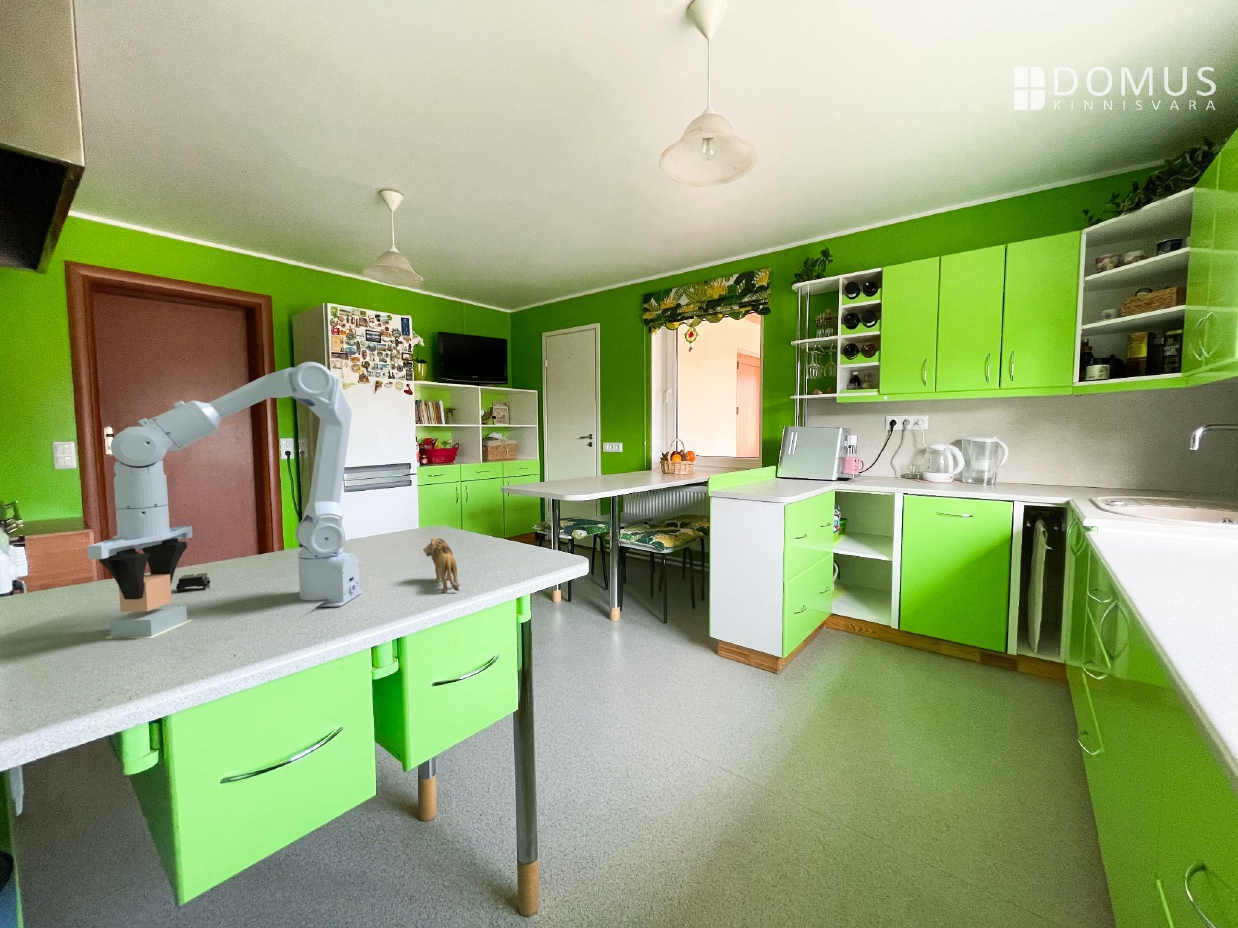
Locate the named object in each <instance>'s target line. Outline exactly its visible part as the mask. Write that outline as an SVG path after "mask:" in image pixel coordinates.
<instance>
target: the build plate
mask: <svg viewBox="0 0 1238 928" xmlns="http://www.w3.org/2000/svg"><path fill="white" fill-rule="evenodd" d="M177 581H178V582H177V583H176V586H175V589H176V594H180V593H181V592H182V591H184V590H185V589H186V588H192V587H193V588H194V587H196V588H200V587H201V588H202V590H203V591H206V590H207V589H211V588H210V587H211V580H210V576H208V572H203V573H197V574H196V575H195V574H193V573H192V574H183V575H182V576H181V577H179V578H178V580H177Z"/></svg>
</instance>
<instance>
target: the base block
mask: <svg viewBox="0 0 1238 928" xmlns="http://www.w3.org/2000/svg"><path fill="white" fill-rule="evenodd" d="M187 620H188V613H187V605H163V606H160V607H158V608H155V609H152V610H150V611H135V612H129V613H126V614H123V615H121V616H118V617H114V618H112V619H110V620H109V626H110V627H109V629H110V630H109V631H110V636H111V637H136V636H154V635H156V634H158V633H160V632H163V631H165V630H167V629H170V628H172V627H174V626H176V625H179V624H181V623H183V622H186V621H187Z"/></svg>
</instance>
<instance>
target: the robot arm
mask: <svg viewBox="0 0 1238 928" xmlns="http://www.w3.org/2000/svg"><path fill="white" fill-rule="evenodd" d="M289 397H292V399H295V400H296V401H298V402H299V403H301V404H303V405H306V406H307V407H308V409H310V410H311V412H313V413H314V414H315V415H316V416H317V417H318V419H319V425H318V433H317V434H318V435H317V441H316V448H315V455H314V463H313V470H312V476H311V485H310V489H309V491H310V492H309V499H308V501H307V505H306V507H305V509H304V513H303V517H302V520H301V521H300V522H299V524H298V525H297V527H296V528H295V539H296V540H297V542H298V543H299V544H300V545H301V546H302V547H301V550H299V552H298V553H297V557H298V559H297V560H298V562H297V563H298V580H299V581H298V584H299V586H298V587H299V598H300V599H301V600H303V601H320V600H321V601H322V600H325V601H324V602H322V603H320V604H318V605H317V606H316V607H322V608H323V607H328V608H329V607H341V606H344V605H345V604H346V603H348V602H349V601H351V600H353V599H354V598H356V597H357V596H359V595H361V594H363V590H362V589H361V582H360V581H361V580H360V579H361V578H360V576H361V575H360V561H359V558H358V557H357V555H355V554H354V553H346V552H344V547H343V546H344V543H345V541H346V531H345V530H344V527H343V522H342V521H343V513H342V509H341V505H340V502H341V497H342V489H343V488H342V487H343V481H344V473H345V467H346V460H347V451H348V445H349V436H350V430H351V422H352V409H351V408H350V407H351V406H350V404H349V403H348V401H347V399H346V397H345V394H344V392H343V390H342V388H341V385H340V381H339V378H338V377H337V376H336V375H335V374H334V373H332V371H331V370H330V369H328V367H326V366H325V365H323V364H321V363H318V362H315V361H305V362H303V363H300V364H298V365H297V366H295V367H287V368H285V369H284V368H283V369H281V370H278V371H274V372H271V373H268V374H265V375H263V376H262V377H259V378H257V379H255V380H253V381H251V382H248V383H247V384H245V385H242V386H241V387H238V388H237V389H235V390H232V391H230V392H228V393H226V394H225V395H223V396H220V397H218V398H215V399H214V400H212V401H209V402H202V401H197V400H190V401H187V402H184V401H183V400H180V401H178V402H175V403H173V408H172V409H170V410H167V411H165V412H163V413H160V414H159V415H157V416H156V415H155V416H154V417H152V418H150V419H147V418H142V419H140V420H138V422H137V423H139V424H140V426H130V427H125V428H124V430H122V431H120V432H119V433H117V434H116V435H115V436H114V437H113V439H112V440H111V443H110V451H111V454H112V455H113V457H114V458H115V459H116V461H115V462H114V465H113V473H114V474H115V476H114V478H113V484H114V485H113V486H114V487H113V488H114V500H115V501H114V502H115V505H114V506H115V514H116V515H115V516H116V517H115V519H116V532H117V534H116V535H113V536H112V538H110V539H107V540H103V541H99V542H97V543H93V544H88V545H86V554H87V560H98V562H99V563H100V564H102V565H103V566H104V567H105V568H106V570H107V571H108V572H109V573H110V574H111V576H112V577H113V578H114V580H115V582H116V583H117V585H118V589H119V588H120V590H121V592H122V594H123V596H124V599H140V598H142V596H143V591H144V575H145V570H146V566H147V564H148V568H149V573H150V574H149V575H156V574H170V583H171V584H172V583H173V578H174V575H175V572H176V569H177V566H178V563H179V561H180V559H181V557H182V555H183V554H184V552H185V551H186V550H187V548H188V543H187V541H179V540H182V539H190V538H193V526H192V525H180V526H179V525H178V526H174V527H170V513H169V509H170V508H169V499H168V498H169V497H168V482H167V481H168V480H167V475H166V474H165V470H164V460H163V459H164V458H165V456H166V454H167V451H174V452H178V451H180V450H183V449H184V448H186V447H188V446H190V445H192V444H194V443H196V442H199V441H200V440H202V439H204V438H207V437H209V436H211V435H212V434H214V433H217V432H218V431H219V430H220V427H221V426H220V425H221V421H222V420H223V419H225V418H227V417H230V416H231V415H234V414H236V413H238V412H240V411H242V410H244V409H247V408H248V407H251V406H253V405H256V404H257V403H260V402H263V401H264V400H266V399H269V398H276V399H278V398H280V399H283V398H289ZM140 549H141V550H142V552H143V553H139V551H136V550H140Z"/></svg>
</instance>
